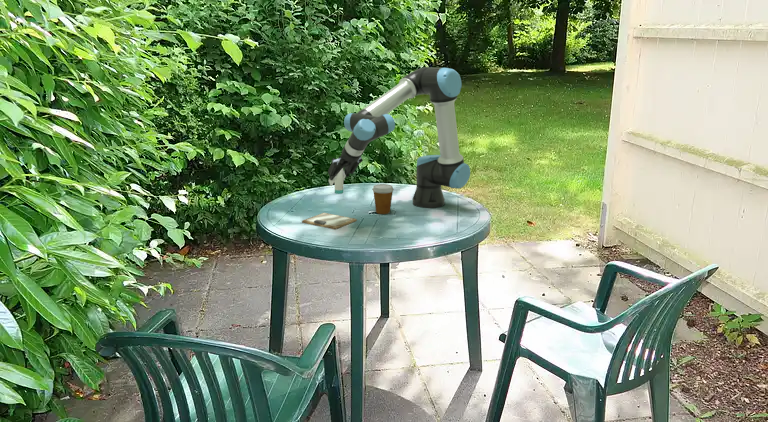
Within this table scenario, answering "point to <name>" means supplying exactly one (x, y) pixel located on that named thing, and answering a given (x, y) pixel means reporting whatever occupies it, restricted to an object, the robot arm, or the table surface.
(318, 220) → the clipboard
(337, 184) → the ball
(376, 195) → the disposable coffee cup
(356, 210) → the table surface
